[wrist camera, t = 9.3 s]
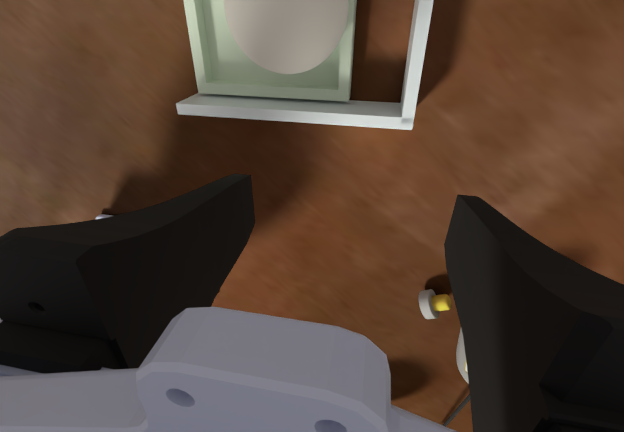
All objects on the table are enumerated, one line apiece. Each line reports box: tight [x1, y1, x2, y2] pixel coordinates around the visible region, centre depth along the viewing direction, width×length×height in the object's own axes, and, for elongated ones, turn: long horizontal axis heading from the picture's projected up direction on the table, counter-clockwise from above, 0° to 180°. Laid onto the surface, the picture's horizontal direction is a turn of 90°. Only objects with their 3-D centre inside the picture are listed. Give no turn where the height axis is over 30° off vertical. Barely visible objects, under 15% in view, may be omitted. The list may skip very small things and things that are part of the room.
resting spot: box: [184, 0, 357, 102], centre depth 18 cm, size 9×9×1 cm
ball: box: [224, 0, 349, 74], centre depth 16 cm, size 6×6×6 cm
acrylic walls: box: [176, 0, 434, 130], centre depth 18 cm, size 13×9×3 cm
